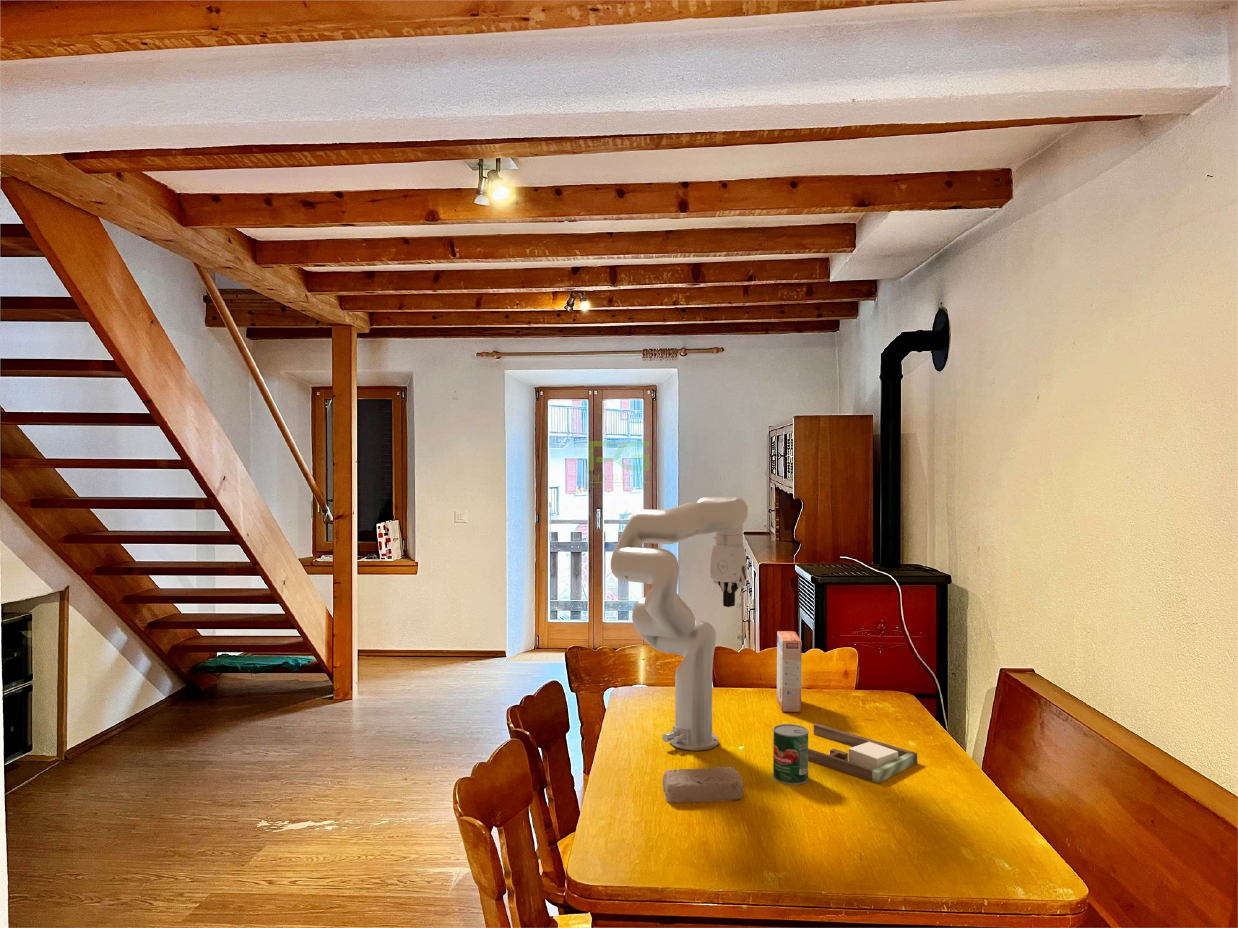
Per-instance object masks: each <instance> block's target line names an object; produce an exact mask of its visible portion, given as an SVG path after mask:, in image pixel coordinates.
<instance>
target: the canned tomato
mask: <svg viewBox="0 0 1238 928" xmlns="http://www.w3.org/2000/svg"><path fill="white" fill-rule="evenodd" d="M772 731H773V735H772V736H773V742H772V743H773V747H772V748H773V749H772V751H773V754H772V755H773V764H772V766H773V767H772V769H773V770H772V771H773V774H772V778H773V779H774V780H775V781H777V783H780V784H785V785H791V786H792V785H793V786H796V785H804V784H806V783H807V782H808V781H809V760H808V748H809V732H810V731H809V729H807V728H806V727H804V726H801V725H799V724H791V723H785V724H784V723H783V724H778V725H776V726H773V729H772Z"/></svg>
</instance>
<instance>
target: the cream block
mask: <svg viewBox="0 0 1238 928" xmlns="http://www.w3.org/2000/svg"><path fill="white" fill-rule="evenodd" d="M897 758H898V751H895V750H892V749H889V748H887V747H884V746H881V745H878V744H875V743H872V742H867V743H864V744H861V745H858V746H852V747H849V748H848V761H849V762H852V763H855V764H858V765H861V766H865V767H868V768H871V769H874V770H875V769H877V768H879V767H881V766H883V765H885V764H887V763H889V762H891V761H893V760H895V759H897Z"/></svg>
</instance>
